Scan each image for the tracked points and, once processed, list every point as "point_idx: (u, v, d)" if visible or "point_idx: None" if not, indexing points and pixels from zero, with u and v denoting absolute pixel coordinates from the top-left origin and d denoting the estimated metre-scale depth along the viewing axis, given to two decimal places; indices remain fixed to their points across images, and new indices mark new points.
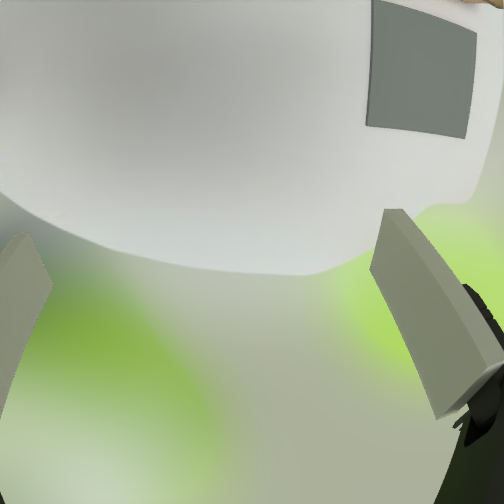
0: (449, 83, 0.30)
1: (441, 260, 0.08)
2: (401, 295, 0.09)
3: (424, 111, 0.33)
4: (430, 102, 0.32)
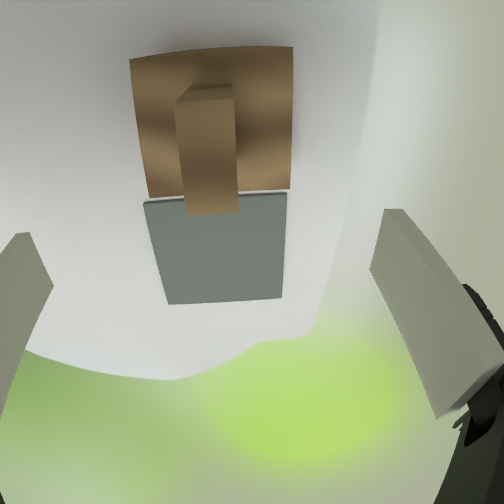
0: (248, 259, 0.41)
1: (441, 260, 0.08)
2: (401, 295, 0.09)
3: (222, 287, 0.44)
4: (227, 279, 0.43)
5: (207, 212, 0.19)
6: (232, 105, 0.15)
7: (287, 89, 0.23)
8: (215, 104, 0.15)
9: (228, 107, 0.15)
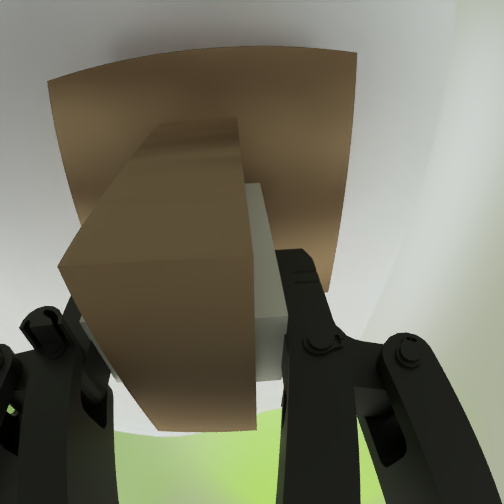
0: None
1: (268, 224, 0.09)
2: None
3: None
4: None
5: (195, 430, 0.09)
6: (247, 276, 0.05)
7: (341, 135, 0.12)
8: (188, 272, 0.05)
9: (232, 280, 0.05)
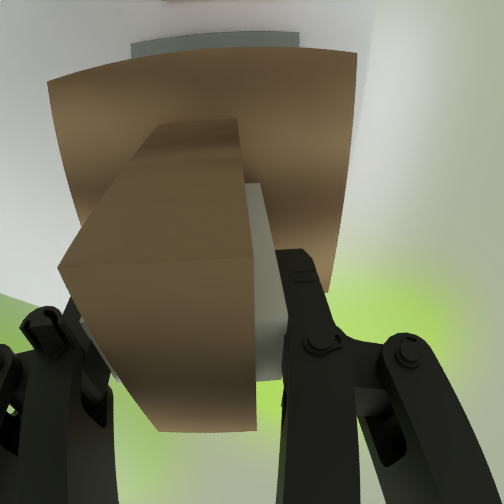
0: None
1: (268, 224, 0.09)
2: None
3: None
4: None
5: (195, 431, 0.09)
6: (248, 277, 0.05)
7: (342, 135, 0.12)
8: (188, 274, 0.05)
9: (232, 282, 0.05)
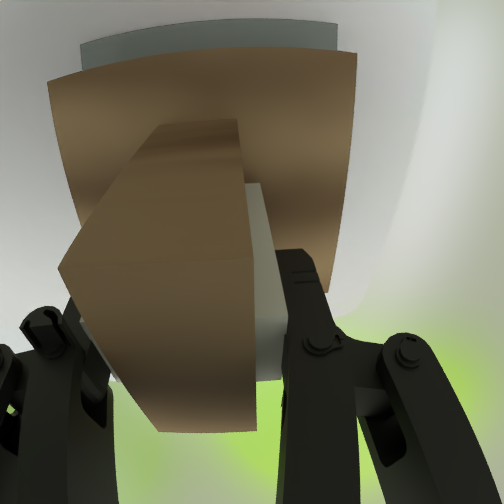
0: None
1: (268, 224, 0.09)
2: None
3: None
4: None
5: (195, 431, 0.09)
6: (248, 278, 0.05)
7: (341, 135, 0.12)
8: (188, 274, 0.05)
9: (232, 283, 0.05)
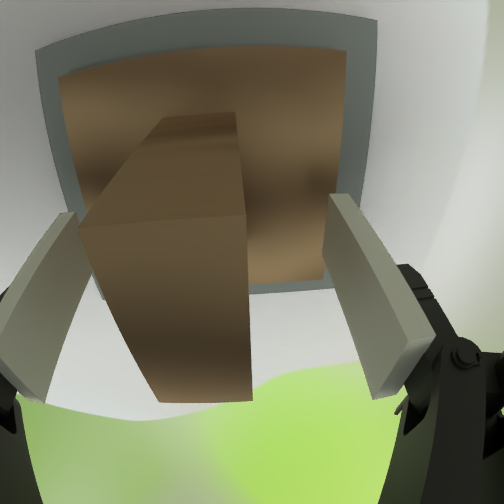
0: None
1: (377, 240, 0.09)
2: (342, 275, 0.10)
3: None
4: None
5: (194, 401, 0.09)
6: (241, 233, 0.06)
7: (333, 128, 0.13)
8: (191, 230, 0.05)
9: (229, 239, 0.06)
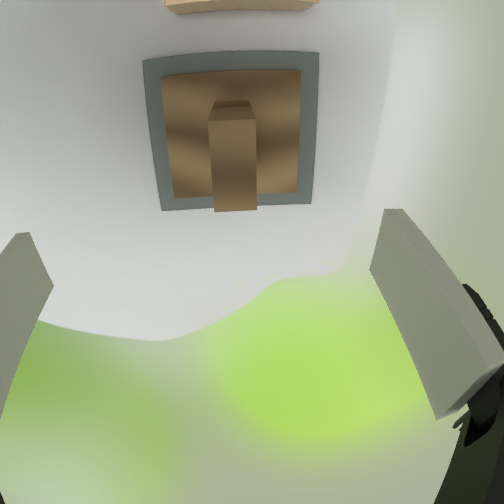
0: None
1: (441, 260, 0.08)
2: (401, 295, 0.09)
3: None
4: None
5: (231, 209, 0.23)
6: (254, 124, 0.20)
7: (295, 107, 0.27)
8: (241, 123, 0.20)
9: (251, 125, 0.20)
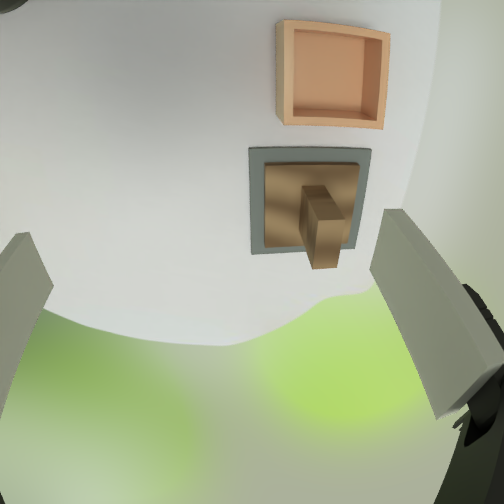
0: None
1: (441, 260, 0.08)
2: (401, 295, 0.09)
3: None
4: None
5: (322, 267, 0.38)
6: (344, 222, 0.34)
7: (353, 190, 0.42)
8: (337, 221, 0.34)
9: (342, 223, 0.34)
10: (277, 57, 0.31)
